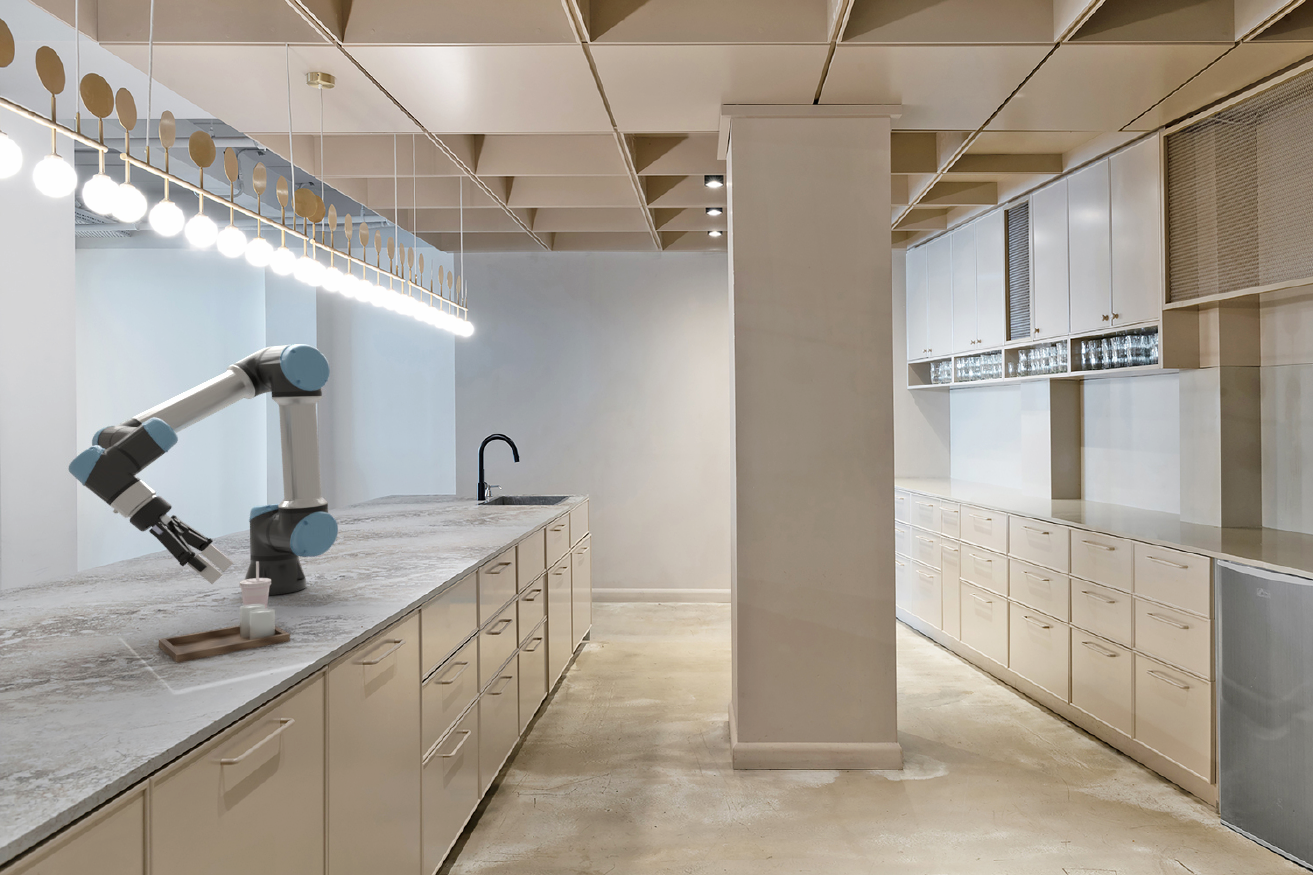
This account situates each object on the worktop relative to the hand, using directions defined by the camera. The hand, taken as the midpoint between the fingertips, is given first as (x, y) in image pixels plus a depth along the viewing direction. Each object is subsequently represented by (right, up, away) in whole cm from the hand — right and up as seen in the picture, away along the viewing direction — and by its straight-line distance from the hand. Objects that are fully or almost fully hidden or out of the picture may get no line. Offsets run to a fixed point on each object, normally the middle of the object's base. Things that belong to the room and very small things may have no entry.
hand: (223, 573), depth 167 cm
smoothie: (+5, -12, +3) cm, 14 cm away
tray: (+8, -12, -14) cm, 20 cm away
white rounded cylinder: (+10, -12, -7) cm, 17 cm away
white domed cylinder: (+15, -12, -12) cm, 22 cm away
